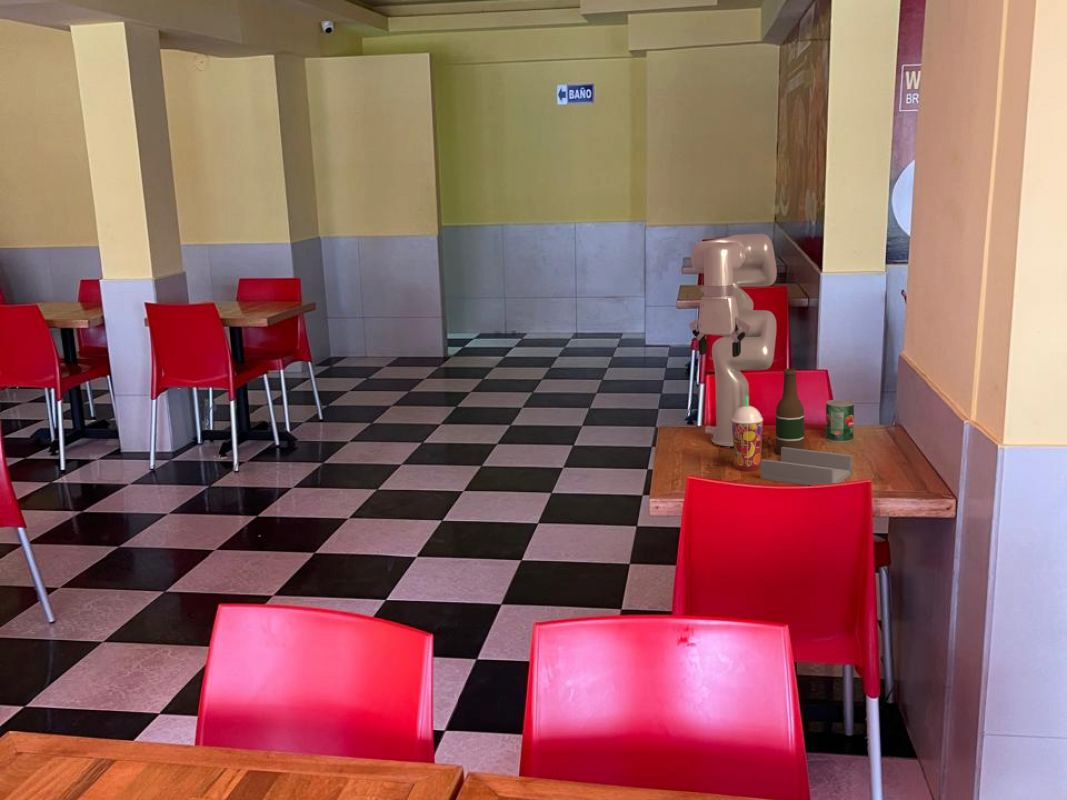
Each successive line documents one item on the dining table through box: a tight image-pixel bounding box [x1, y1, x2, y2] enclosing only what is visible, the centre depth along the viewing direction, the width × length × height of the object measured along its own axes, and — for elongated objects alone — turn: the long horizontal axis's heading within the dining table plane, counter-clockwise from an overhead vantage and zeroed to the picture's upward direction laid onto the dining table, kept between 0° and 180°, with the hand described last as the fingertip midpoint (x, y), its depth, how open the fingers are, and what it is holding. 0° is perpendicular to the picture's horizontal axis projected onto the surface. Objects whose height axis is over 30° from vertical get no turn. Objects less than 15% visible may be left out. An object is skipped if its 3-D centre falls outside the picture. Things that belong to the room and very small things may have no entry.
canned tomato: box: [825, 399, 855, 443], centre depth 295 cm, size 8×8×11 cm
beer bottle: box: [775, 368, 805, 456], centre depth 283 cm, size 8×8×24 cm
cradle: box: [759, 447, 853, 486], centre depth 263 cm, size 19×14×5 cm
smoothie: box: [731, 396, 764, 472], centre depth 271 cm, size 8×8×20 cm
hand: (719, 355), depth 272 cm, fingers open, 9 cm apart
